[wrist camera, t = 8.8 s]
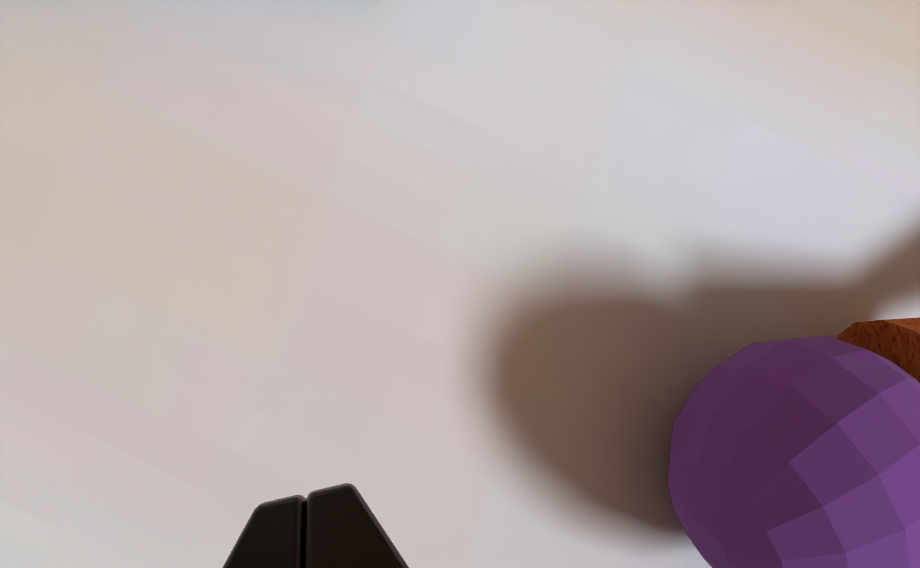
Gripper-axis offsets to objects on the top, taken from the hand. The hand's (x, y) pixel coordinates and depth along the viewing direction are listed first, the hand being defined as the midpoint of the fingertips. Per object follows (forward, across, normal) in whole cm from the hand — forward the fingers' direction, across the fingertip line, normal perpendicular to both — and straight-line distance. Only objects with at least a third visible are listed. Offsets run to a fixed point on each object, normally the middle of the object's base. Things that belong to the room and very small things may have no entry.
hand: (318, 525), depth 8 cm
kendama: (+12, -15, +10) cm, 22 cm away
